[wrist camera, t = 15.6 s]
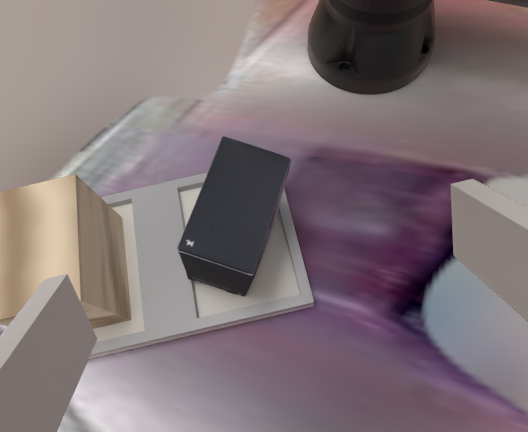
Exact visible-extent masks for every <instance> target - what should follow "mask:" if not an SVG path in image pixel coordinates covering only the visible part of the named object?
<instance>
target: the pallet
mask: <svg viewBox="0 0 528 432" xmlns="http://www.w3.org/2000/svg"><path fill="white" fill-rule="evenodd" d="M207 173H208V172H207ZM207 173H203V174H198V175H194V176H190V177H186V178H181V179H177V180H173V181H168V182H164V183H160V184H156V185H151V186H147V187H143V188H139V189H134V190H130V191H126V192H121V193H117V194H113V195H109V196H104V197H101V198H102V199H103V200H104V201H105V202H106V203H107V204H108V205H109V206H110V207H111V208H112V209H114V210H115V211H116V212H117V213H118V214H119V215H120V216H121V217H122V218H123V228H124V239H125V250H126V262H127V273H128V284H129V295H130V307H131V318H132V320H129V321H125V322H121V323H117V324H112V325H108V326H104V327H99V328H95V329H93V330H94V333H95V335H96V337H97V341H96V343H95V346H94V348H93V350H92V352H91V355H90V357H89V359H93V358H97V357H101V356H106V355H110V354H114V353H118V352H123V351H127V350H131V349H135V348H140V347H144V346H148V345H152V344H157V343H161V342H165V341H169V340H174V339H178V338H182V337H187V336H191V335H195V334H199V333H204V332H208V331H212V330H216V329H221V328H225V327H229V326H233V325H238V324H242V323H246V322H250V321H255V320H259V319H263V318H267V317H272V316H276V315H280V314H285V313H289V312H293V311H297V310H302V309H306V308H310V307H313V306H314V300H313V296H312V292H311V289H310V285H309V281H308V277H307V273H306V270H305V266H304V262H303V258H302V254H301V251H300V247H299V243H298V239H297V236H296V232H295V228H294V224H293V220H292V217H291V213H290V209H289V205H288V201H287V198H286V194H285V190H284V191H283V195H282V198H281V202H280V205H279V208H278V212H277V215H276V218H275V222H274V225H273V228H272V231H271V234H270V237H269V240H268V242H267V245H266V248H265V251H264V253H263V256H262V259H261V262H260V264H259V267H258V269H257V272H256V274H255V277H254V279H253V281H252V284H251V286H250V288H249V290H248V292H247V294H246V296H241V295H237V294H233V293H229V292H227V291H225V290H222V289H218V288H216V287H214V286H210V285H207V284H204V283H200V282H199V281H193V280H191V279H188V277H187V274H186V270H185V268H184V265H183V263H182V260H181V258H180V255H179V253H178V250H177V247H178V244H179V242H180V240H181V237H182V235H183V232H184V230H185V227H186V225H187V222H188V220H189V217H190V215H191V212H192V210H193V208H194V205H195V203H196V200H197V198H198V195H199V193H200V190H201V188H202V185H203V183H204V180H205V178H206V176H207ZM89 359H88V360H89Z"/></svg>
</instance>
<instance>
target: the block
mask: <svg viewBox="0 0 528 432" xmlns="http://www.w3.org/2000/svg"><path fill="white" fill-rule="evenodd" d="M64 274H68V276H69V278H70V281H71V283H72V285H73V287H74V289H75V291H76V294H77V296H78V298H79V300H80V302H81V304H82V307H83V309H84V311H85V313H86V315H87V317H88V320H89V322H90V324H91V326H92V328H93V329H95V328H99V327H104V326H108V325H112V324H117V323H121V322H125V321H129V320H132V318H131V307H130V295H129V284H128V273H127V262H126V250H125V239H124V228H123V218H122V217H121V216H120V215H119V214H118V213H117V212H116V211H115V210H114V209H112V208H111V207H110V206H109V205H108V204H107V203H106V202H105V201H104V200H103V199H102V198H101V197H99V196H98V195H97V194H96V193H95V192H94V191H93V190H92V189H91V188H90V187H89V186H88V185H86V184H85V183H84V182H83V181H82V180H81V179H80V178H79V177H78V176H77V175H76V174H75V175H70V176H66V177H62V178H58V179H53V180H49V181H45V182H41V183H37V184H32V185H28V186H23V187H19V188H15V189H11V190H6V191H2V192H0V324H1V325H6V326H8V325H9V324H10V323H11V322H12V320H13V319H14V318H15V317H16V315H17V314H18V313H19V311H20V310H21V309H22V308H23V306H24V305H25V304H26V303H27V301H28V300H29V299H30V297H31V296H32V295H33V294H34V292H35V291H36V290H37V288H38V287H39V286H40V285H41V283H42V282H43V281H44V280H45V279H47V278H51V277H56V276H60V275H64Z"/></svg>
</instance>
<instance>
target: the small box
mask: <svg viewBox="0 0 528 432" xmlns="http://www.w3.org/2000/svg"><path fill="white" fill-rule="evenodd" d="M290 163H291V159H290V158H288V157H285V156H282V155H280V154H277V153H274V152H270V151H268V150H264V149H262V148H259V147H255V146H252V145H249V144H246V143H243V142H240V141H237V140H234V139H231V138H227V137H224V136H223V137H222V139H221V141H220V144H219V146H218V149H217V151H216V154H215V156H214V158H213V161H212V163H211V166H210V168H209V171H208V173H207V176H206V178H205V180H204V183H203V185H202V188H201V190H200V193H199V195H198V198H197V200H196V203H195V205H194V208H193V210H192V212H191V215H190V217H189V220H188V222H187V225H186V227H185V230H184V232H183V235H182V237H181V240H180V242H179V244H178V247H177V250H178V253H179V255H180V258H181V260H182V263H183V265H184V268H185V270H186V274H187V277H188V279H191V280H193V281H199V282H200V283H204V284H207V285H210V286H214V287H216V288H218V289H222V290H225V291H227V292H229V293H233V294H237V295H241V296H246V294H247V292H248V290H249V288H250V286H251V284H252V281H253V279H254V277H255V274H256V272H257V269H258V267H259V264H260V262H261V259H262V256H263V253H264V251H265V248H266V245H267V242H268V240H269V237H270V234H271V231H272V228H273V225H274V222H275V218H276V215H277V212H278V208H279V205H280V202H281V198H282V195H283V191H284V187H285V184H286V180H287V176H288V172H289V167H290Z"/></svg>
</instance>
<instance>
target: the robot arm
mask: <svg viewBox="0 0 528 432" xmlns="http://www.w3.org/2000/svg"><path fill="white" fill-rule="evenodd" d="M489 1H495V2H500V3H505V4H511V5H516V6H522V7H527V8H528V0H489ZM434 41H435V14H434V0H319V3H318V5H317V7H316V10H315V12H314V15H313V17H312V19H311V22H310V25H309V30H308V54H309V58H310V60H311V63H312V65H313V66H314V68H315V69H316V71H317V72H318V73H319V74H320V75H321V76H322V77H323V78H324V79H325V80H327V81H328V82H330V83H331V84H333V85H335V86H337V87H339V88H342V89H344V90H347V91H351V92H356V93H364V94H375V93H384V92H388V91H392V90H395V89H398V88H400V87H402V86H404V85H406V84H408V83H410V82H411V81H412V80H414V79H415V78H416V77H417V76H418V75H419V74H420V73H421V72H422V71H423V69H424V68H425V66H426V64H427V62H428V60H429V57H430V54H431V52H432V49H433V46H434ZM451 207H452V231H453V255H454V256H455V257H456V258H457V259H458V260H459V261H460V262H461V263H463V264H464V265H465V266H466V267H467V268H468V269H469V270H470V271H472V272H473V273H474V274H475V275H476V276H477V277H478V278H479V279H481V280H482V281H483V282H484V283H485V284H486V285H487V286H488V287H489V288H491V289H492V290H493V291H494V292H495V293H496V294H497V295H499V297H501V298H502V299H503V300H504V301H505V302H506V303H507V304H508V305H510V306H511V307H512V308H513V309H514V310H515V311H516V312H517V313H518V314H520V315H521V316H522V317H523V318H524V319H525V320H526V321H527V322H528V207H527V206H525V205H523V204H521V203H519V202H517V201H515V200H513V199H511V198H509V197H507V196H505V195H503V194H501V193H499V192H497V191H495V190H494V189H492V188H490V187H488V186H486V185H484V184H482V183H480V182H478V181H476V180H474V179H470V180H465V181H461V182H457V183H453V184H451ZM96 341H97V337H96V335H95V333H94V330H93V328H92V326H91V324H90V322H89V320H88V317H87V315H86V313H85V311H84V309H83V307H82V304H81V302H80V300H79V298H78V296H77V294H76V291H75V289H74V287H73V285H72V283H71V281H70V278H69V276H68V274H64V275H60V276H56V277H51V278H47V279H45V280H44V281H43V282H42V283H41V285H40V286H39V287H38V288H37V290H36V291H35V292H34V294H33V295H32V296H31V297H30V299H29V300H28V301H27V303H26V304H25V305H24V306H23V308H22V309H21V310H20V311H19V313H18V314H17V315H16V317H15V318H14V319H13V320H12V322H11V323H10V324H9V325H8V327H7V328H6V329H5V331H4V332H3V333H2V334H1V336H0V432H57V430H58V427H59V425H60V423H61V421H62V418H63V416H64V414H65V412H66V409H67V407H68V405H69V402H70V400H71V398H72V396H73V393H74V391H75V389H76V386H77V384H78V382H79V380H80V377H81V375H82V373H83V371H84V368H85V366H86V364H87V361H88V359H89V357H90V355H91V352H92V350H93V348H94V346H95V343H96Z"/></svg>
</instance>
